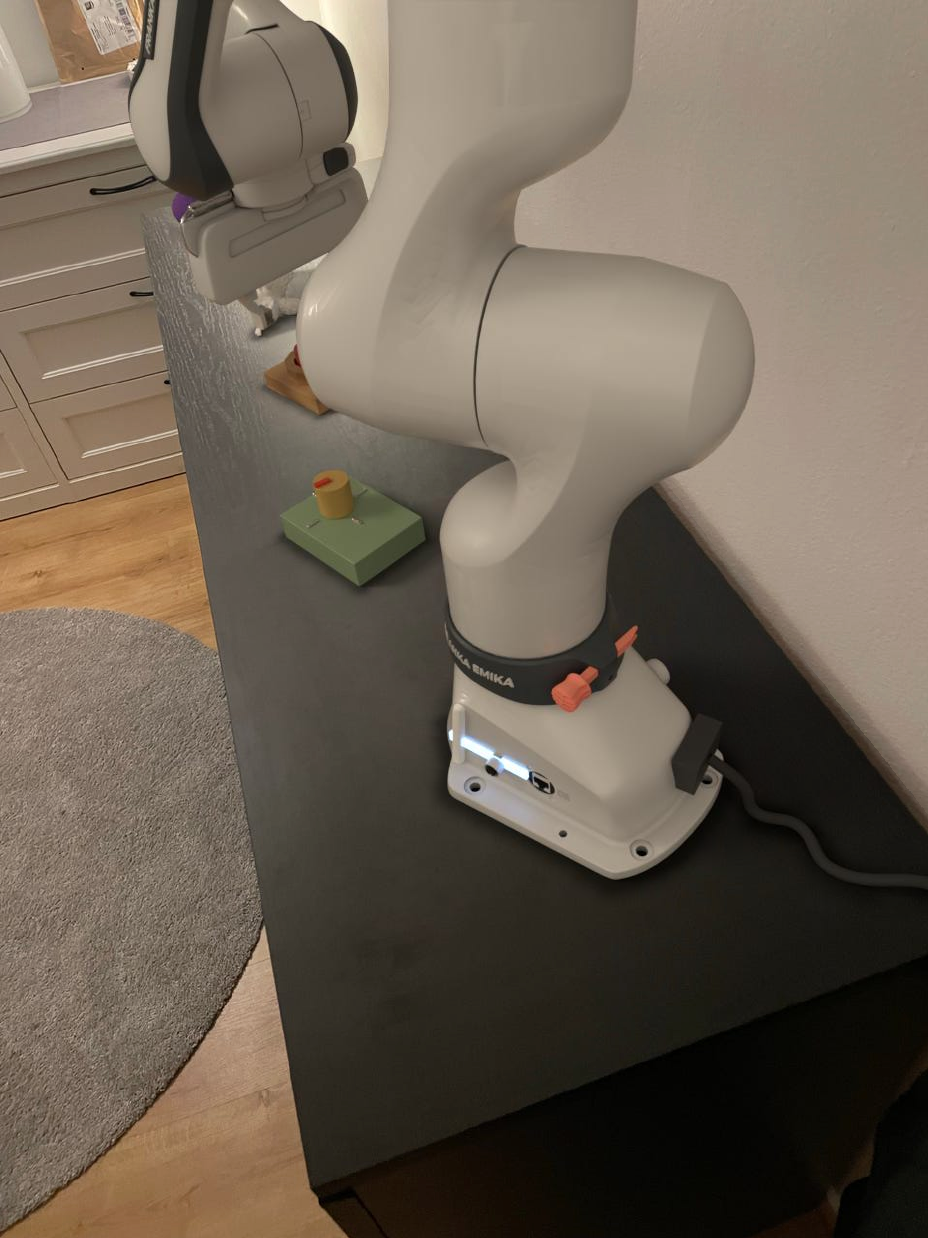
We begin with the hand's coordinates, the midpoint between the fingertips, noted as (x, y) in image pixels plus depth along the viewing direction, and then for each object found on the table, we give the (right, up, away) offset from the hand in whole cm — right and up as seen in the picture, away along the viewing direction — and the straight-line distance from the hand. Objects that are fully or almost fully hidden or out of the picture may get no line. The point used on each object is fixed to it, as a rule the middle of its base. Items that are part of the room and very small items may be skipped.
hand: (300, 306), depth 94 cm
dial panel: (+6, -25, -2) cm, 26 cm away
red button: (-2, -1, +17) cm, 18 cm away
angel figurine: (-10, +14, +38) cm, 42 cm away
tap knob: (+4, -22, -3) cm, 22 cm away
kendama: (-23, +38, +64) cm, 78 cm away
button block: (-1, -3, +20) cm, 20 cm away
